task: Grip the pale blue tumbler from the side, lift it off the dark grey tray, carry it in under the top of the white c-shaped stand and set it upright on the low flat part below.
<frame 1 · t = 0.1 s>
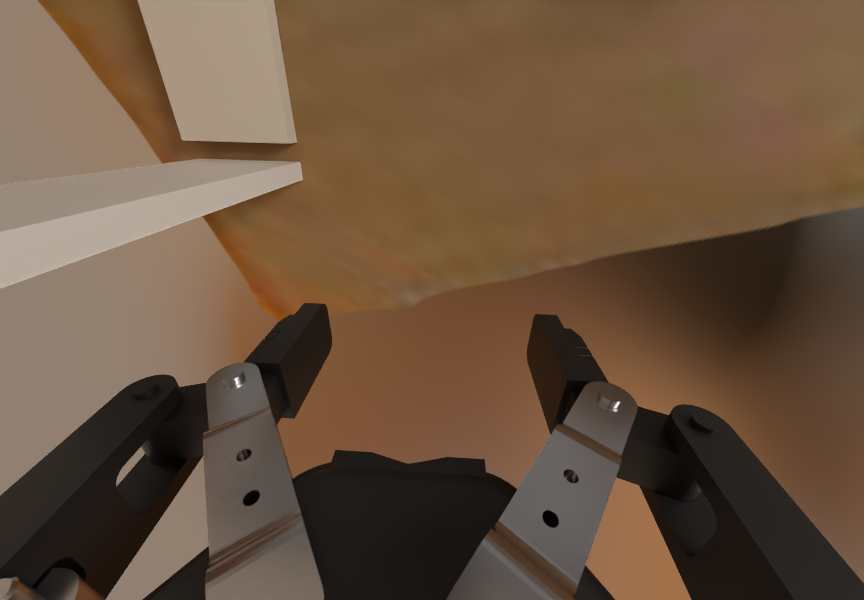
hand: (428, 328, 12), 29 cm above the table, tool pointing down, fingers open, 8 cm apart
white c-shaped stand: (228, 66, 33), on the table
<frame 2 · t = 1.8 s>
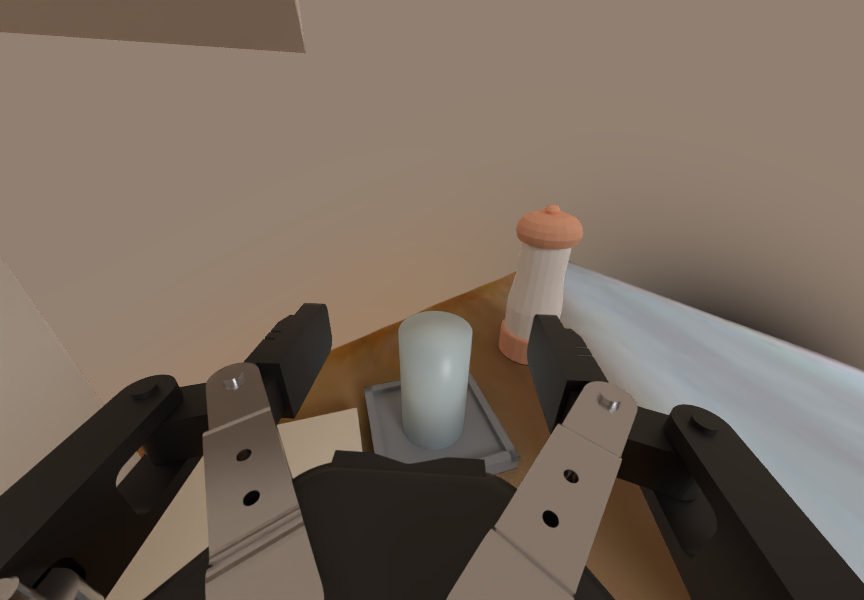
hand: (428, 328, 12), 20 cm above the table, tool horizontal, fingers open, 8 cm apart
tumbler: (433, 422, 31), point 1 cm above the table, touching tray
white c-shaped stand: (250, 508, 25), on the table
pepper shaker: (525, 349, 44), on the table
tray: (432, 429, 32), on the table
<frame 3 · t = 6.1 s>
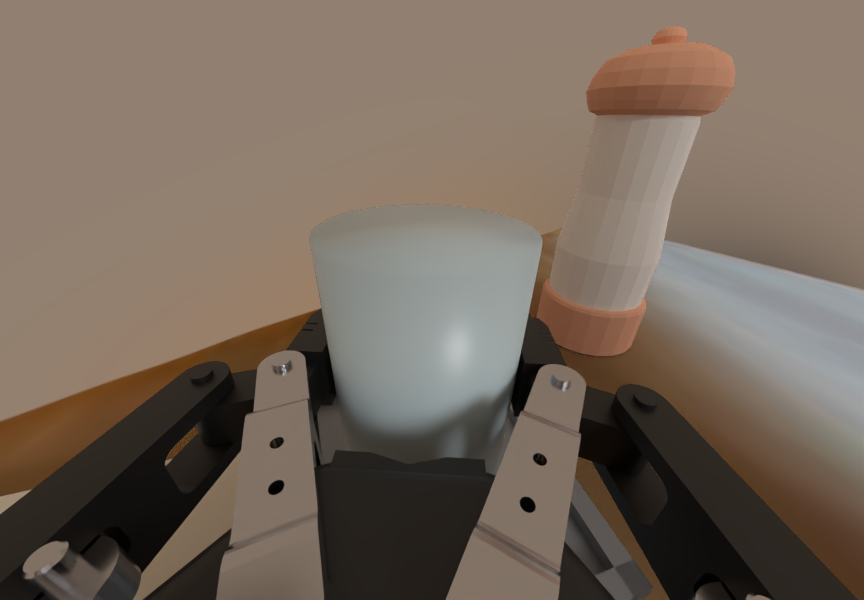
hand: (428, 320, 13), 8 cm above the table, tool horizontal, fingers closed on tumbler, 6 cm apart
tumbler: (423, 474, 14), point 1 cm above the table, touching gripper, tray
pepper shaker: (581, 330, 26), on the table
tray: (423, 488, 14), on the table
when the fingers open (10 cm above the table, at t = 10.4 s): tumbler drops 1 cm, resting on white c-shaped stand.
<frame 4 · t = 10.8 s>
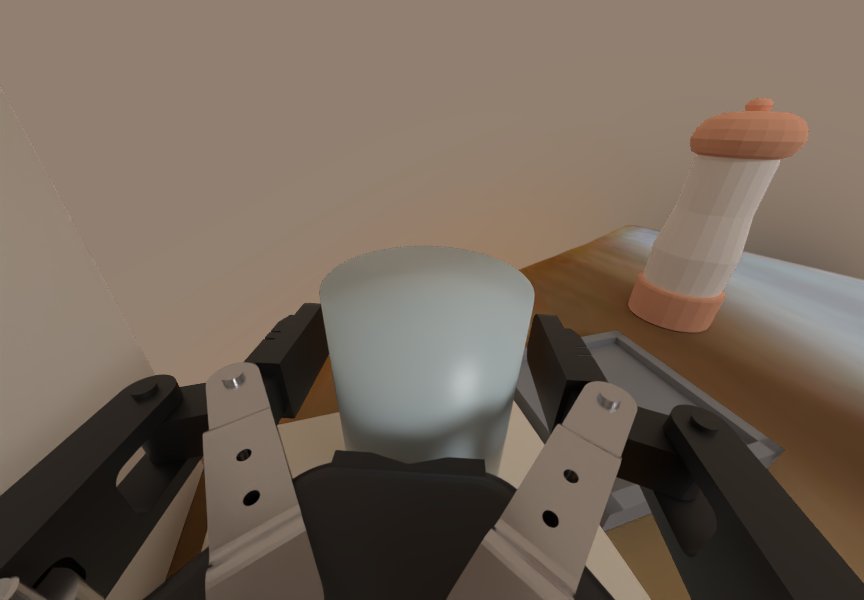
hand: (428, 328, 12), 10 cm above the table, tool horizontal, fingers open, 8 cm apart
tumbler: (423, 497, 15), point 2 cm above the table, touching white c-shaped stand
white c-shaped stand: (381, 531, 15), on the table
pepper shaker: (665, 314, 34), on the table
tray: (607, 410, 22), on the table
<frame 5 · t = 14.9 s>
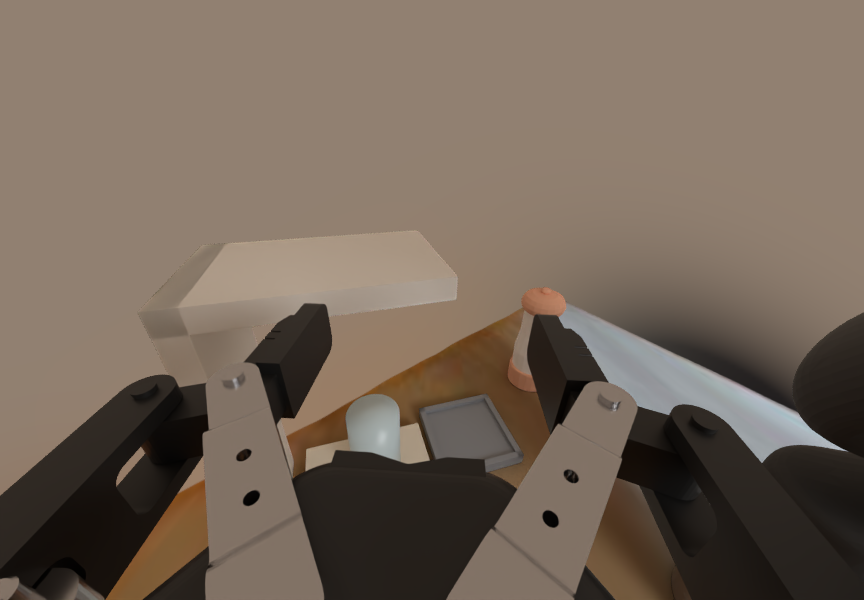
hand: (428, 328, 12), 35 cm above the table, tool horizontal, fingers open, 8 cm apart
tumbler: (377, 471, 41), point 2 cm above the table, touching white c-shaped stand
white c-shaped stand: (363, 484, 42), on the table
pepper shaker: (526, 378, 61), on the table
tray: (466, 437, 49), on the table
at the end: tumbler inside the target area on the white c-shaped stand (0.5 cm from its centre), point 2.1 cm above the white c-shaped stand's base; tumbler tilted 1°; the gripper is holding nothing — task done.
